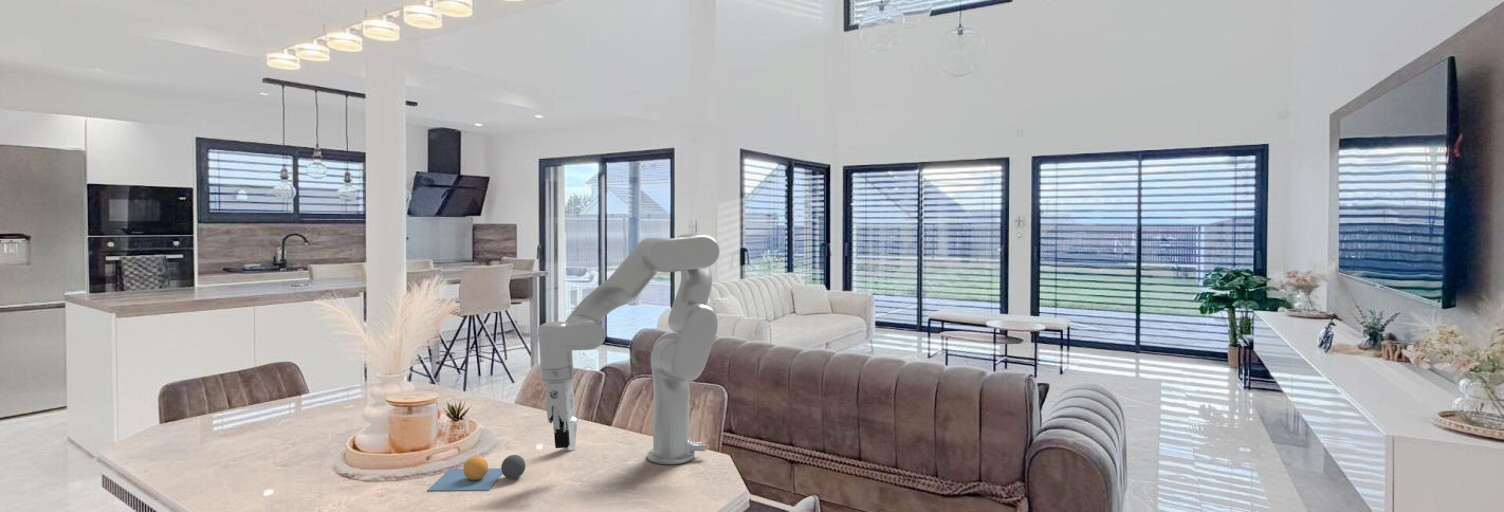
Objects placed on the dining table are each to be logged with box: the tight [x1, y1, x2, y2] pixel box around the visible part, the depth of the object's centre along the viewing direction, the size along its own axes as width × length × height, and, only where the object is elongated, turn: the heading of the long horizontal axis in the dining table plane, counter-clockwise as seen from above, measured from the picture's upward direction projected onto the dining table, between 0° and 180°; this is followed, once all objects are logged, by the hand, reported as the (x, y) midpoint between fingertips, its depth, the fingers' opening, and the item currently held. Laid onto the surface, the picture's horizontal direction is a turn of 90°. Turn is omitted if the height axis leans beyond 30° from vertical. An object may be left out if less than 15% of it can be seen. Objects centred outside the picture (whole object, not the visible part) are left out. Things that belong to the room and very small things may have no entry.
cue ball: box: [500, 454, 526, 480], centre depth 171 cm, size 6×6×6 cm
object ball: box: [462, 455, 489, 480], centre depth 170 cm, size 6×6×6 cm
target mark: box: [426, 467, 503, 492], centre depth 170 cm, size 14×14×1 cm
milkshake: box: [562, 414, 580, 452], centre depth 193 cm, size 4×5×10 cm
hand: (562, 446), depth 171 cm, fingers closed
